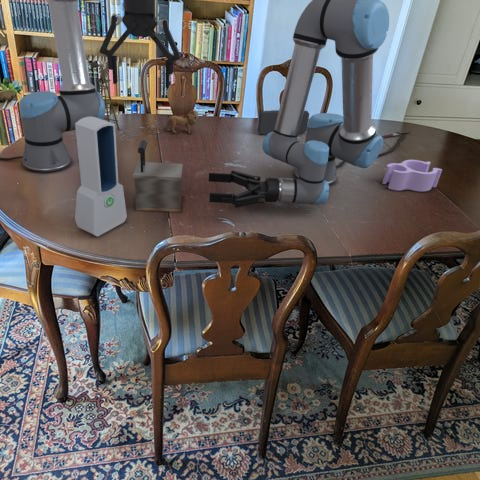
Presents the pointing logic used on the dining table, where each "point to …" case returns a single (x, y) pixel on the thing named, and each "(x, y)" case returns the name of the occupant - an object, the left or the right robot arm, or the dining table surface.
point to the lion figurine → (183, 121)
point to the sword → (393, 134)
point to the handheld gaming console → (270, 117)
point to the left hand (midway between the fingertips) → (141, 84)
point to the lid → (155, 167)
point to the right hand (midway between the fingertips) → (208, 186)
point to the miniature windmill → (102, 81)
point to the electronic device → (98, 177)
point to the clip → (411, 176)
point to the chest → (158, 194)
